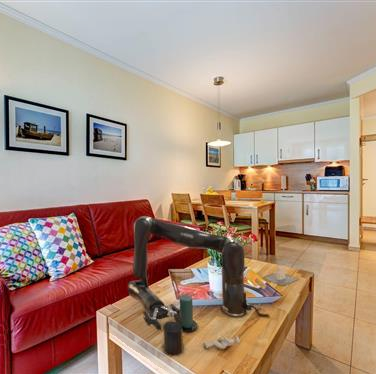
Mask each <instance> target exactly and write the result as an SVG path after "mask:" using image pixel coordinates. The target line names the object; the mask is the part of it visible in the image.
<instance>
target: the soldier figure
mask: <svg viewBox="0 0 376 374" xmlns="http://www.w3.org/2000/svg"><path fill="white" fill-rule="evenodd" d="M220 336H221V337H223V338H224V339H222V338H221V337H219V338H218V340H219V341H220V342H219V341H217V340H212V341H211V342H208V343H207V342H206V340H204V342H203V344H204V346H205V349H208V348H210V347H213V346H215V347H216V348H218V349H220V350H225V349H226V348H227V347H230V346H233V345H234V343H236V344H237V345H239V344H240V337H239V336H238V335H236V334H235V337H234V338H227V337H226V335H224V334H223V333H220Z"/></svg>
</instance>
